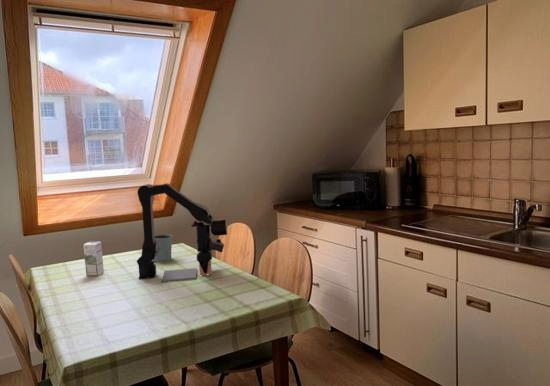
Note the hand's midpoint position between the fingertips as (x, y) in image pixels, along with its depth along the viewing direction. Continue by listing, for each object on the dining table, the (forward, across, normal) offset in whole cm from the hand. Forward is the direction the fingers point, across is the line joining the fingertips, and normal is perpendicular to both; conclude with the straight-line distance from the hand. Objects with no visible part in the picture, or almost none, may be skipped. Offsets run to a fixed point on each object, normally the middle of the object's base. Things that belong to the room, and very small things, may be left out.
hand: (205, 271), depth 194 cm
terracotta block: (+1, 0, 0) cm, 1 cm away
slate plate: (+1, 0, +11) cm, 11 cm away
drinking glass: (+1, +29, +21) cm, 36 cm away
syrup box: (+1, +13, +49) cm, 51 cm away
